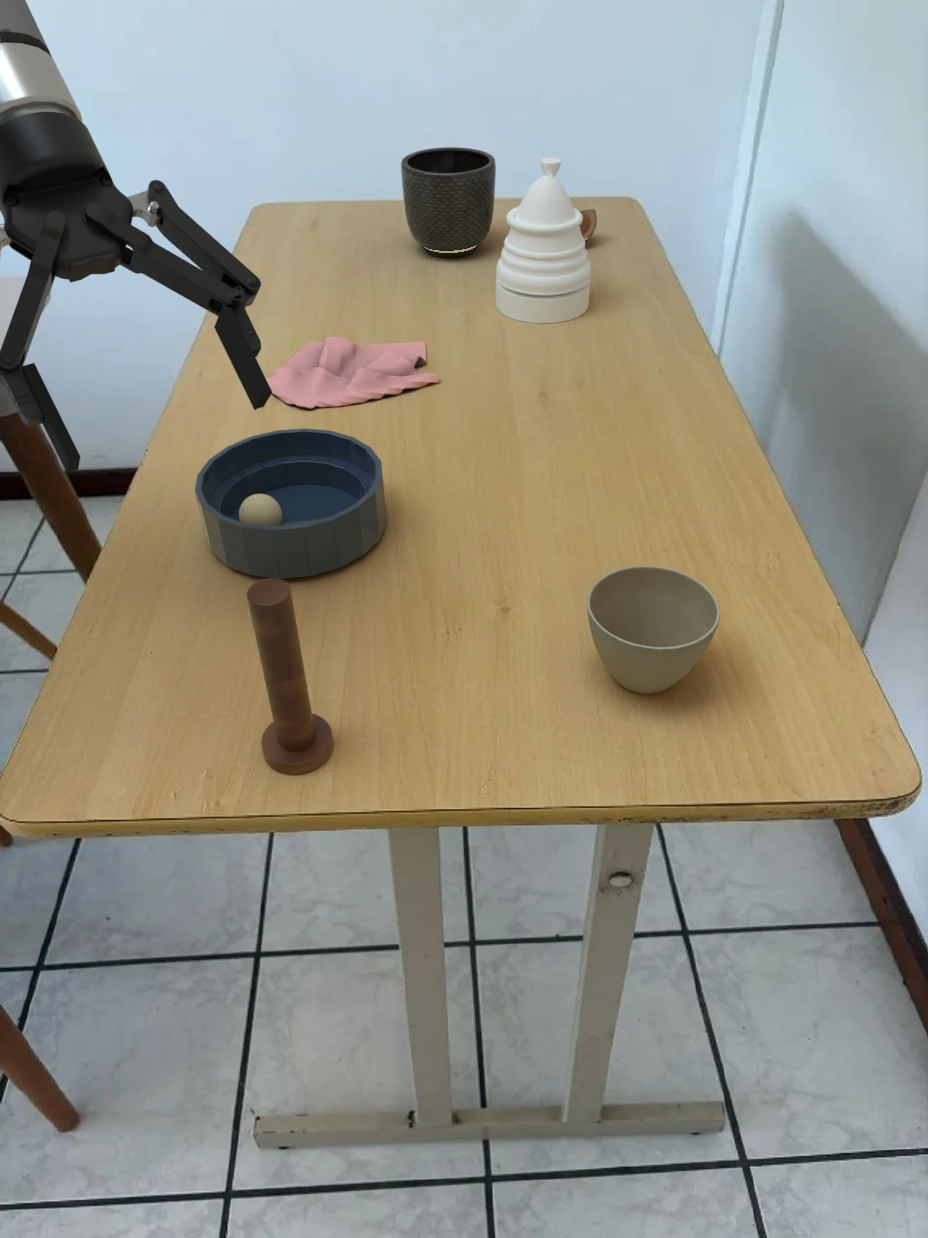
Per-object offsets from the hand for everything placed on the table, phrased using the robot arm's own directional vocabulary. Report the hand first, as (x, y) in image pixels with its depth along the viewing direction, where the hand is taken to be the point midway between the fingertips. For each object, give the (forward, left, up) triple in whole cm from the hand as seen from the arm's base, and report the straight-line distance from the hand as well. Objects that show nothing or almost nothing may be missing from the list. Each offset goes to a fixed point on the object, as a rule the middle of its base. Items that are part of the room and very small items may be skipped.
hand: (173, 432), depth 64 cm
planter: (+28, +90, -22) cm, 97 cm away
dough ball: (+2, +18, -19) cm, 26 cm away
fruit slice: (+46, +90, -22) cm, 103 cm away
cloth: (+12, +51, -22) cm, 57 cm away
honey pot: (+38, +68, -22) cm, 81 cm away
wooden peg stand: (+6, -10, -22) cm, 25 cm away
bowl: (+5, +19, -22) cm, 29 cm away
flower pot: (+33, -5, -22) cm, 40 cm away
